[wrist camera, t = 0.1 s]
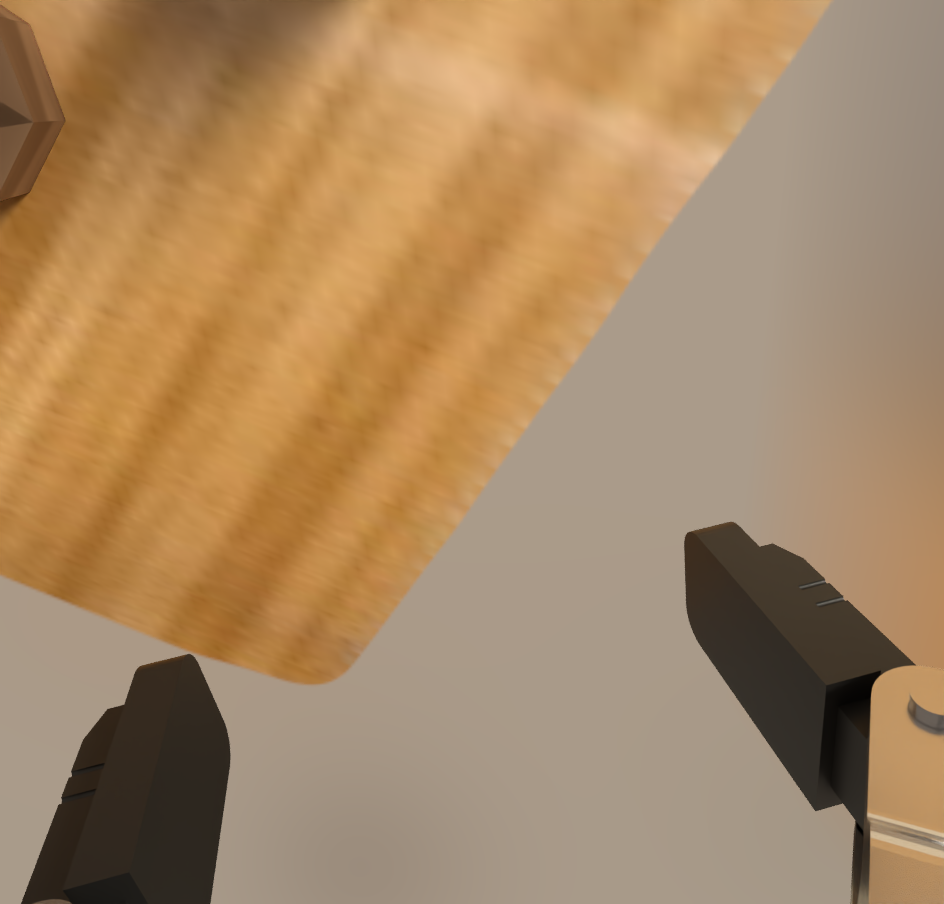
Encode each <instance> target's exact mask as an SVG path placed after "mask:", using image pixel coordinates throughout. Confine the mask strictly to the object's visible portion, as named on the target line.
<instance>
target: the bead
mask: <svg viewBox="0 0 944 904" xmlns="http://www.w3.org/2000/svg"><path fill="white" fill-rule="evenodd" d="M64 122H65V118H64V115H63V113H62V110H61V107H60V105H59V102H58V99H57V96H56V94H55V91H54V88H53V86H52V83H51V80H50V77H49V75H48V72H47V69H46V67H45V64H44V61H43V59H42V56H41V53H40V50H39V48H38V45H37V42H36V40H35V37H34V34H33V31H32V29H31V26H30V25H29V24H28V23H27V22H25V21H24V20H22V19H21V18H19V17H18V16H16V15H15V14H13V13H12V12H10V11H9V10H7V9H6V8H4V7H3V6H2V5H0V201H2V200H5V199H9V198H12V197H16V196H19V195H22V194H26V193H29V192H30V190H31V188H32V186H33V184H34V182H35V180H36V178H37V176H38V174H39V172H40V170H41V168H42V166H43V164H44V162H45V160H46V158H47V156H48V154H49V152H50V150H51V148H52V146H53V144H54V142H55V140H56V138H57V136H58V134H59V132H60V130H61V128H62V126H63V124H64Z"/></svg>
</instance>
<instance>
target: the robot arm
mask: <svg viewBox="0 0 944 904" xmlns="http://www.w3.org/2000/svg"><path fill="white" fill-rule="evenodd" d="M684 550H685V581H686V606H687V607H686V608H687V614H688V618H689V622H690V625H691V628H692V630H693V633H694V635H695V637H696V639H697V641H698V643H699V644H700V646H701V647H702V649H703V650H704V652H705V653H706V654H707V656H708V657H709V659H710V660H711V662H712V663H713V664H714V666H715V667H716V669H717V670H718V672H719V673H720V675H721V676H722V677H723V679H724V680H725V682H726V683H727V685H728V686H729V688H730V689H731V690H732V692H733V693H734V694H735V696H736V698H737V699H738V700H739V702H740V703H741V705H742V706H743V708H744V709H745V710H746V712H747V713H748V715H749V716H750V718H751V719H752V721H753V722H754V724H755V725H756V726H757V728H758V729H759V730H760V732H761V734H762V735H763V736H764V738H765V739H766V741H767V742H768V744H769V745H770V746H771V748H772V749H773V751H774V752H775V754H776V755H777V757H778V758H779V759H780V761H781V762H782V764H783V765H784V767H785V768H786V769H787V771H788V772H789V774H790V775H791V777H792V778H793V780H794V781H795V782H796V784H797V785H798V787H799V788H800V790H801V791H802V792H803V794H804V795H805V797H806V798H807V800H808V801H809V803H810V804H811V806H812V807H813V808H814V810H815V811H818V810H821V809H825V808H828V807H832V806H835V805H839V804H842V803H843V804H844V805H845V806H846V808H847V809H848V811H849V812H850V813H851V815H852V816H853V817H854V819H855V827H854V840H853V860H852V880H851V901H850V904H944V670H943V669H939V668H935V667H928V666H916V665H915V664H914V663H913V662H912V661H911V660H910V659H909V658H908V657H907V656H906V655H905V654H904V653H903V652H901V651H900V650H899V649H898V648H897V647H896V646H895V645H894V644H893V643H892V642H891V641H890V640H889V639H888V638H887V637H886V636H885V635H883V633H881V632H880V631H879V630H878V629H877V628H876V627H875V626H874V625H873V624H872V623H871V622H870V621H869V620H868V619H867V618H866V617H865V616H863V615H862V614H861V613H860V612H859V611H858V610H857V609H856V608H855V607H854V606H853V605H852V604H851V603H850V602H849V601H845V600H844V599H843V596H842V595H841V594H840V593H839V592H838V591H837V590H836V589H835V588H834V587H833V586H832V585H831V584H830V583H828V584H827V583H826V582H825V579H824V578H823V577H822V576H821V575H820V574H819V573H818V572H817V571H816V570H815V569H814V568H813V567H812V566H811V565H810V564H809V563H807V561H806V560H804V559H803V558H801V557H799V556H797V555H795V554H793V553H791V552H789V551H787V550H785V549H783V548H781V547H779V546H776V545H774V544H769V545H765V546H761V547H759V546H758V545H757V544H756V543H755V542H754V541H753V540H752V539H751V538H750V537H749V536H748V535H747V534H746V533H745V532H744V531H743V530H742V528H741V527H739V526H738V525H737V524H736V523H734V522H727V523H724V524H719V525H715V526H712V527H708V528H703V529H699V530H695V531H691V532H688V533H687V534H686V537H685V541H684ZM229 769H230V744H229V737H228V733H227V729H226V726H225V723H224V720H223V718H222V716H221V713H220V711H219V709H218V707H217V704H216V702H215V700H214V698H213V695H212V693H211V691H210V689H209V686H208V684H207V682H206V680H205V677H204V675H203V673H202V671H201V668H200V666H199V664H198V662H197V661H196V659H195V657H194V656H193V655H191V654H187V655H183V656H179V657H175V658H171V659H167V660H162V661H158V662H154V663H150V664H146V665H142V666H140V667H139V668H138V669H137V670H136V672H135V674H134V678H133V680H132V684H131V686H130V690H129V692H128V695H127V698H126V702H125V704H124V705H122V706H118V707H114V708H110V709H107V711H106V712H105V713H104V714H103V716H102V717H101V718H100V719H99V721H98V722H97V723H96V724H95V726H94V727H93V728H92V729H91V731H90V732H89V733H88V735H87V736H86V737H85V738H84V740H83V742H82V744H81V747H80V750H79V752H78V755H77V757H76V760H75V763H74V765H73V768H72V771H71V772H72V777H70V778H69V779H68V781H67V784H66V786H65V789H64V792H63V794H62V797H61V798H62V804H59V805H58V808H57V810H56V813H55V815H54V818H53V821H52V823H51V826H50V829H49V832H48V834H47V837H46V839H45V842H44V845H43V847H42V850H41V852H40V855H39V858H38V860H37V863H36V866H35V869H34V871H33V874H32V876H31V879H30V881H29V884H28V887H27V889H26V892H25V895H24V897H23V901H22V903H21V904H210V902H211V895H212V888H213V880H214V873H215V867H216V860H217V853H218V846H219V839H220V832H221V825H222V817H223V811H224V804H225V796H226V790H227V783H228V775H229Z"/></svg>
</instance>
